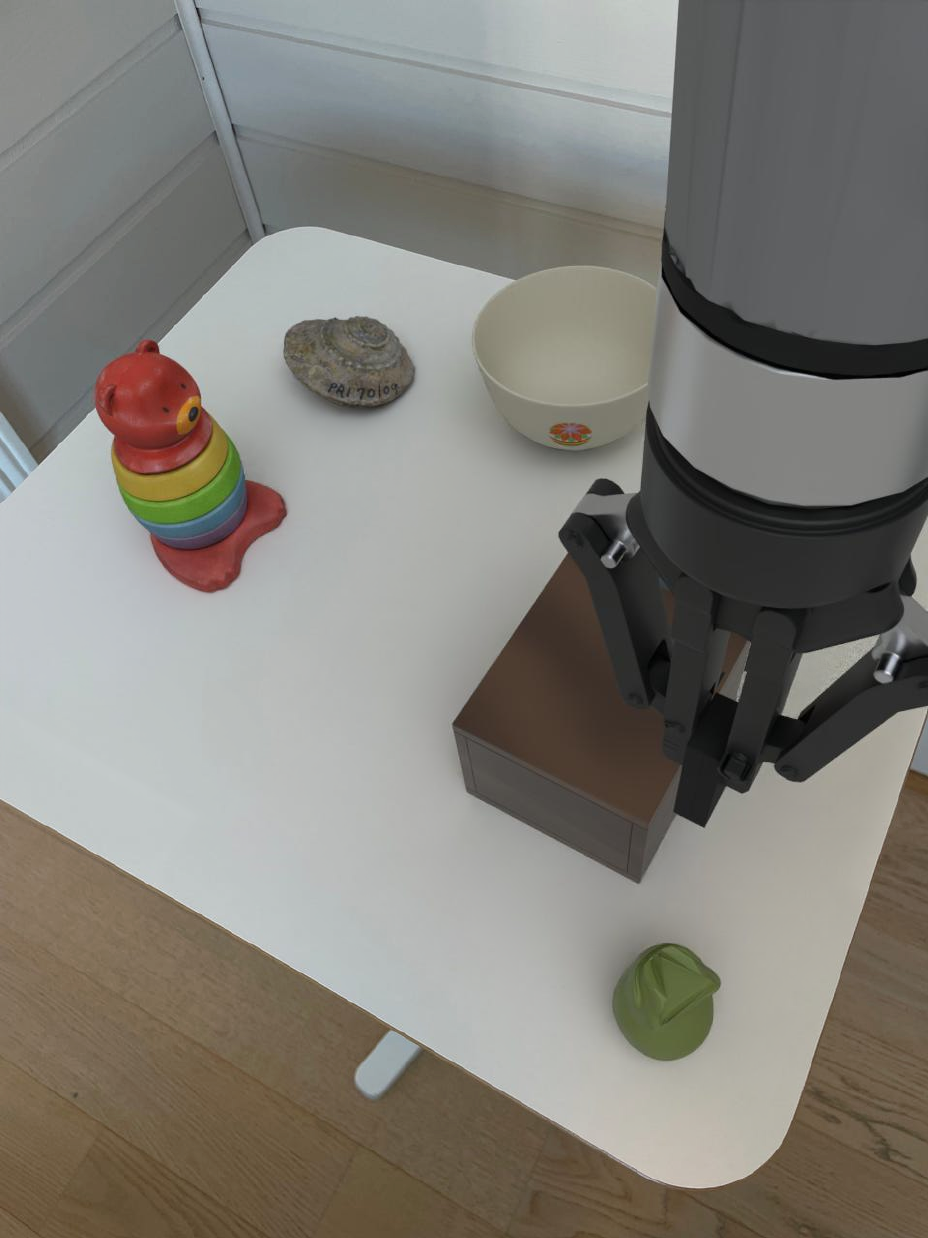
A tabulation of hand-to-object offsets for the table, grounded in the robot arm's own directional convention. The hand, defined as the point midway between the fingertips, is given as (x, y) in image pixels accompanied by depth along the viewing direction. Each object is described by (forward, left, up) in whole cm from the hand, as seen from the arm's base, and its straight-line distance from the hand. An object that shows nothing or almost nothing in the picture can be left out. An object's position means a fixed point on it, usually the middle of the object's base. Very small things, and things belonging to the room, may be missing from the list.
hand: (701, 795), depth 44 cm
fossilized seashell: (+46, -31, -21) cm, 59 cm away
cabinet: (+9, -9, -20) cm, 24 cm away
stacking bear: (+46, -11, -21) cm, 52 cm away
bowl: (+25, -35, -21) cm, 48 cm away
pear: (-2, +5, -21) cm, 21 cm away
